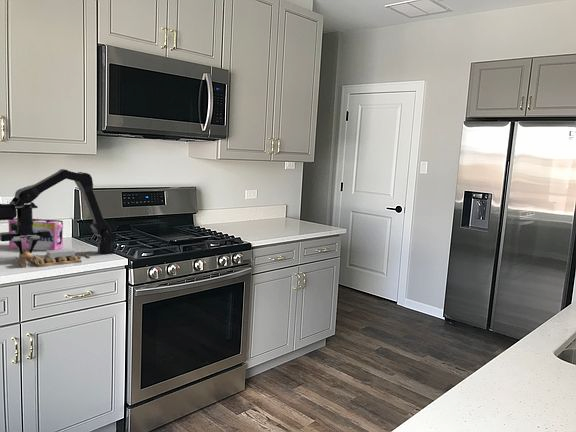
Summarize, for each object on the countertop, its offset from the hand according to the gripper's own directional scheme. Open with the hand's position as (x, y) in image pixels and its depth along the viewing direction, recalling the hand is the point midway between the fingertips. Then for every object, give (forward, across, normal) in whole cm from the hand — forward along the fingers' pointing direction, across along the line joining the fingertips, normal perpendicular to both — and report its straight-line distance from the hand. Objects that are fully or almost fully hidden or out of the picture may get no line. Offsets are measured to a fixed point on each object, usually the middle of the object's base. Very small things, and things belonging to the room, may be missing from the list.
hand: (25, 255), depth 204 cm
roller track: (+3, -11, +3) cm, 12 cm away
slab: (0, -12, +6) cm, 14 cm away
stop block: (+3, +3, +6) cm, 8 cm away
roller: (+1, 0, 0) cm, 1 cm away
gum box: (+3, -11, -26) cm, 29 cm away
